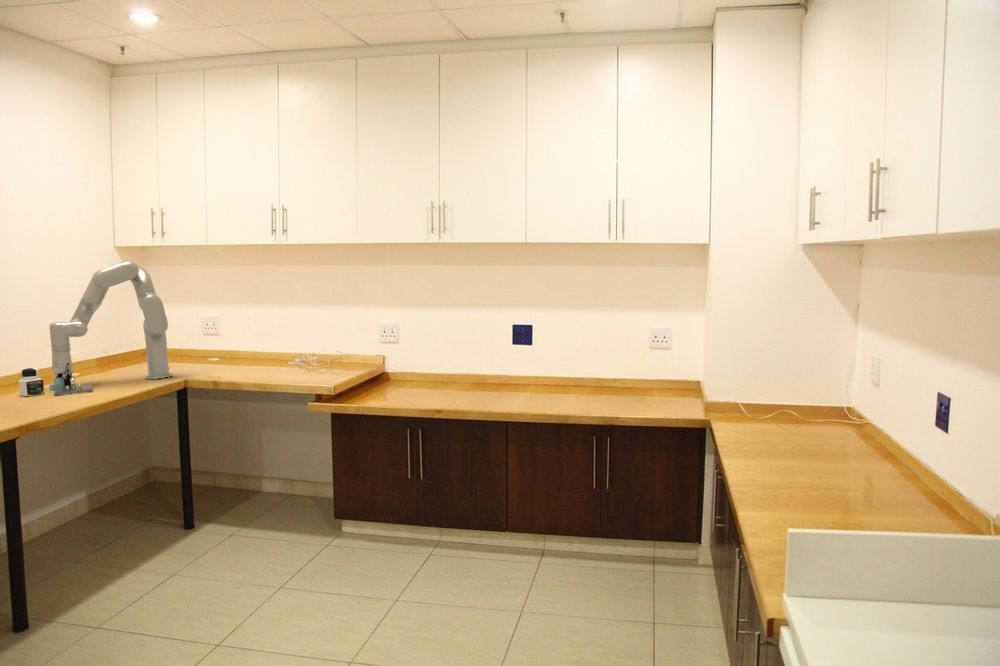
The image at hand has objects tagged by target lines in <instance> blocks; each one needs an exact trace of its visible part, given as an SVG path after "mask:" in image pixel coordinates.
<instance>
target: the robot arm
mask: <svg viewBox="0 0 1000 666" xmlns="http://www.w3.org/2000/svg"><path fill="white" fill-rule="evenodd" d="M128 281H130V282H131V283H132V285H133V289H134V291H135V295H136V298H137V303H138V307H139V308H140V310H142V313H143V317H144V320H143V324H142V325H143V326H142V327H143V333H144V341H145V351H146V352H145V353H146V362H147V364H146V365H147V375H145V376H144V378H145V380H159V379H158V378H162V379H166V378H165V377H168V378H171V377H170V376H172V377H173V376H174V375H173V373H172V372H170V367H169V356H168V342H167V334H166V331H167V330H168V327H169V322H168V318H167V315H166V311H165V307H164V304H163V301H162V300H161V298H160V297H159V295H158V294H157V293H156V290H155V287H154V284H153V280H152V278H151V275H150V274H149V273H148V271H147V270H146V269H145V268H143V267H142V266H140V265H139V264H137V263H135V262H133V261H128V260H127V261H122V262H120V263H119V264H116V265H113V266H111V267H108V268H104V269H100V270H96V271H95V272H94V273H93V274H92V277H91V279H90V281H89V282H88V285H87V287H86V288H85V291H84V292H83V294H82V297H81V298H80V300H79V303H78V305H77V307H76V310H75V311H74V312H73V315H72V317H71V319H70V321H69V322H65V321H64V322H63V321H61V322H60V321H57V322H52V323H50V324H49V328H48V329H49V336H50V346H51V366H52V367H51V369H52V370H51V371H52V372H53V373H54V375H55V378H57V377H64V378H65V379H64V385H65V387H66V386H71V382H70V379H71V378H72V377H73V373H74V370H73V363H72V356H71V353H70V352H71V350H72V349H71V342H70V341H71V340H70V338H82V337H83V336H85V335H86V334H87V333H88V325H89V323H90V321H91V319H92V317H93V315H94V314H95V313H96V311H97V310H98V309H99V308H100V307H101V306H102V304H103V301H104V299H105V297H106V295H107V293H108V291H109V289H110V288H111V287H114V286H116V285H120V284H123V283H124V282H128Z"/></svg>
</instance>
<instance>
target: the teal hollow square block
mask: <svg viewBox="0 0 1000 666" xmlns="http://www.w3.org/2000/svg"><path fill="white" fill-rule="evenodd" d="M72 378H75V376H72ZM52 379H53V383H52V384H49V391H54V389H55V388H58V387H65V385H64V379H65V378H64V376H63V377H57V378H56V377H54V378H53V377H52Z"/></svg>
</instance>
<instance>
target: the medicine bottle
mask: <svg viewBox="0 0 1000 666" xmlns="http://www.w3.org/2000/svg"><path fill="white" fill-rule="evenodd" d="M38 371H39V369H38V368H36V367H35V368H34V367H32V368H31V367H30V368H23V369H21V377H22V379H19V380H18V382H17V383H18V389H19V396H20V395H22V396H21V397H25V396H31V397H34V396H33V395H36V396H39V395H38V394H42V395H45V386H44V379H43V378H40V377H39V372H38Z"/></svg>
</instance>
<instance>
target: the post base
mask: <svg viewBox="0 0 1000 666" xmlns="http://www.w3.org/2000/svg"><path fill="white" fill-rule="evenodd" d="M70 382H71V386H66V387H58V388H55V390H53V391H54V393H53V394H54V396H55V395H60V396H63V395H62V394H69V395H73V394H72V393H78V394H82V393H81V392H87V393H90V392H89V391H93V392H94V388H93V387H94V386H93V384H92V383H88V384H87V383H86V384H78V385H77V383H76V378H75V377H74V378H71V379H70Z"/></svg>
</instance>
